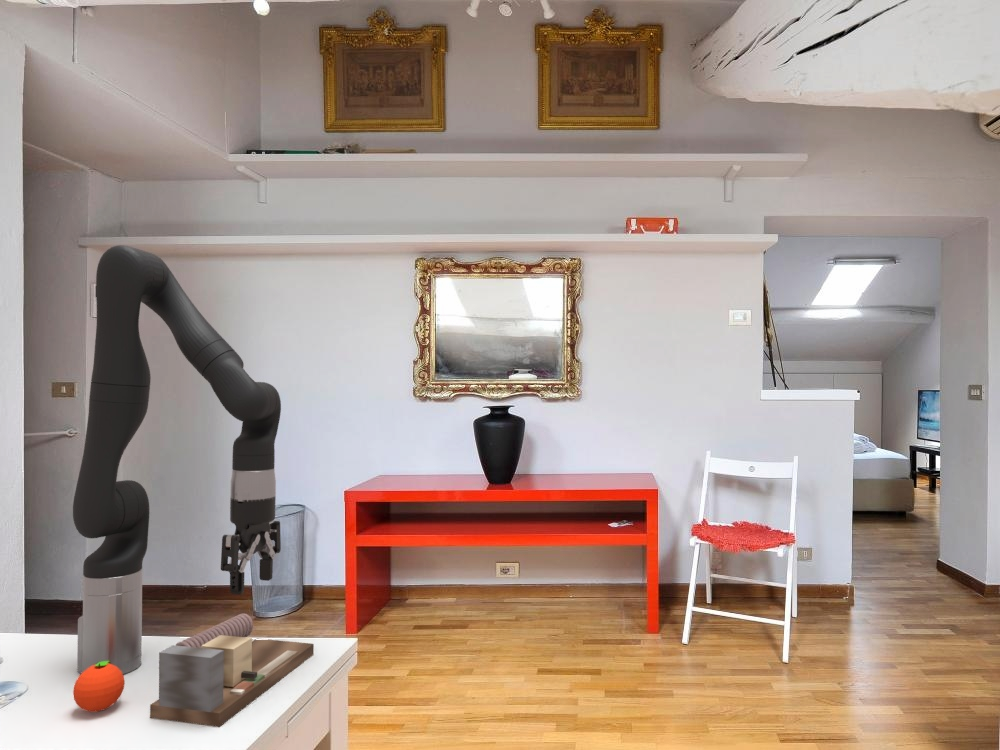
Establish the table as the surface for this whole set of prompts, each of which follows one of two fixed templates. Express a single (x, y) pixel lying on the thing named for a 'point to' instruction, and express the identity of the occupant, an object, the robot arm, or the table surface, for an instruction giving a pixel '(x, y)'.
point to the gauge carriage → (234, 658)
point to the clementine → (98, 687)
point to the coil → (221, 631)
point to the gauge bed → (242, 700)
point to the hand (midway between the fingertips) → (251, 586)
